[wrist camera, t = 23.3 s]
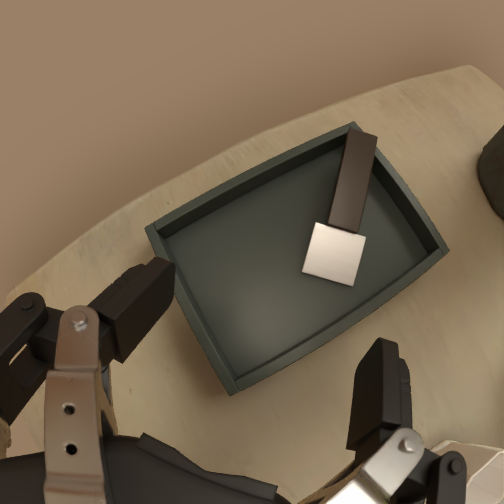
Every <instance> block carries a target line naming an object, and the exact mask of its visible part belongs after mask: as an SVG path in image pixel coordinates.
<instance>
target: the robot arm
mask: <svg viewBox="0 0 504 504" xmlns="http://www.w3.org/2000/svg"><path fill="white" fill-rule="evenodd" d="M175 272H176V265H175V263H173V262H171V261H168V260H166V259H163V258H161V257H158V256H157V257H155V258H153V259H152V260H151V261H150V262H149V263H148V264H147V265H144V264H139V265H136V266H134V267H131V268H129V269H128V270H127V271H126V272H124V273H123V274H122V275H121V277H119V278H118V279H116V280H115V281H114V283H113V284H111V285H110V286H108V287H107V288H106V289H105V290H104V291H103V292H102V293H101V294H99V295H98V296H97V297H96V298H95V299H94V300H93V301H92V302H91V303H90V304H88V305H87V306H82V305H80V306H74V307H71V308H69V309H68V310H66V311H61V310H57V309H53V308H50V307H46V304H45V301H44V299H43V297H42V296H41V295H40V294H38V293H34V292H29V293H25V294H22V295H20V296H19V297H18V298H16V299H15V300H14V301H13V302H12V303H11V304H10V305H9V306H8V307H7V308H5V309H4V310H3V311H2V312H1V313H0V504H291V503H290V502H289V501H288V500H287V499H285V498H284V497H282V496H281V495H280V494H278V493H276V491H277V488H278V486H276V485H273V484H269V483H265V482H262V481H259V480H255V479H252V478H249V477H246V476H239V475H230V474H222V473H215V472H209V471H205V470H203V469H202V468H200V467H199V466H198V465H196V464H195V463H193V462H192V461H191V460H189V459H188V458H187V457H185V456H184V455H183V454H181V453H180V452H179V451H177V450H176V449H175V448H173V447H171V446H169V445H167V444H165V443H163V442H161V441H159V440H157V439H155V438H153V437H151V436H149V435H147V434H145V433H144V432H143V434H142V435H141V437H140V438H137V437H132V436H122V435H118V428H117V423H116V419H115V415H114V409H113V399H112V386H111V370H110V362H111V361H112V360H113V359H115V360H117V361H118V362H120V363H122V364H123V363H124V361H125V360H126V359H127V358H128V356H129V355H130V354H131V353H132V351H133V350H134V349H135V348H136V347H137V345H138V344H139V343H140V342H141V340H142V339H143V338H144V337H145V335H146V334H147V333H148V332H149V331H150V329H151V328H152V327H153V326H154V325H155V323H156V322H157V321H158V320H159V319H160V317H161V316H162V315H163V314H164V312H165V311H166V310H167V309H168V308H169V306H170V304H171V302H172V300H173V296H174V287H175ZM25 344H26V345H27V346H26V347H25V348H24V350H23V351H22V352H21V353H20V354H19V355H18V356H17V357H16V359H15V360H14V361H13V362H12V363H11V364H10V365H9V363H10V361H11V359H12V358H13V357H14V356H15V355H16V353H17V352H18V351H19V350H20V349H21V348H22V347H23V346H24V345H25ZM45 379H46V385H45V403H44V448H45V451H44V452H39V453H34V454H28V455H22V456H15V457H9V458H6V449H7V448H9V447H10V446H11V443H12V442H11V438H10V436H11V432H10V428H9V427H10V425H11V424H12V423H13V421H14V420H15V419H16V417H17V416H18V414H19V413H20V412H21V410H22V409H23V408H24V406H25V405H26V404H27V402H28V401H29V400H30V398H31V397H32V396H33V395H34V393H35V392H36V391H37V389H38V388H39V387H40V386H41V384H42V383H43V382H44V380H45ZM410 392H411V386H410V373H409V369H408V367H407V365H406V363H405V360H404V359H402V358H399V350H398V344H397V343H396V342H393V341H390V340H387V339H384V338H380V337H379V338H377V339H376V341H375V342H374V343H373V345H372V346H371V348H370V349H369V350H368V352H367V353H366V354H365V356H364V357H363V359H362V360H361V361H360V363H359V364H358V367H357V369H356V372H355V377H354V388H353V398H352V407H351V416H350V424H349V432H348V439H347V445H346V449H348V450H353V451H356V454H355V460H353V461H352V462H351V463H350V464H349V465H348V466H347V467H345V468H344V469H343V470H342V471H341V472H340V473H338V474H337V475H336V476H335V477H334V478H333V479H331V480H330V481H329V482H328V483H326V484H325V485H324V486H323V487H321V488H320V489H319V490H317V491H316V492H314V493H313V494H311V495H309V496H308V497H306V498H305V499H303V500H301V501H300V502H298V503H297V504H424V502H425V499H426V498H427V500H426V504H465V501H466V482H467V465H466V461H465V459H464V457H463V456H462V455H461V454H460V453H459V452H457V451H448V452H446V453H445V454H443V455H442V456H440V455H438V454H436V453H434V452H432V451H430V450H428V449H426V448H424V443H423V440H422V438H421V436H420V435H419V434H418V433H417V432H416V431H415V430H413V428H412V401H411V394H410ZM389 498H390V499H389ZM388 500H389V501H388Z"/></svg>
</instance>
